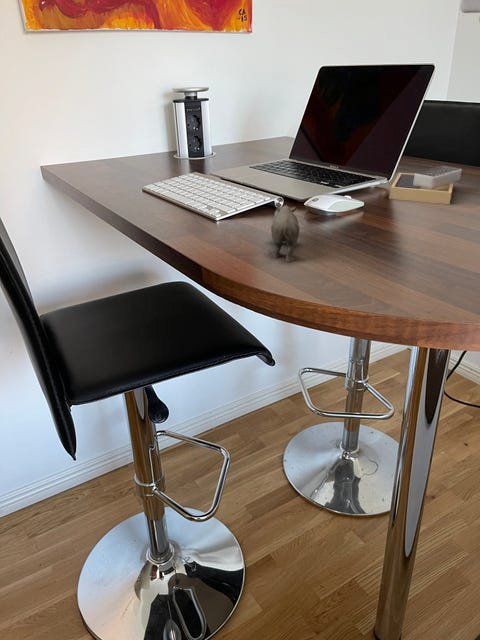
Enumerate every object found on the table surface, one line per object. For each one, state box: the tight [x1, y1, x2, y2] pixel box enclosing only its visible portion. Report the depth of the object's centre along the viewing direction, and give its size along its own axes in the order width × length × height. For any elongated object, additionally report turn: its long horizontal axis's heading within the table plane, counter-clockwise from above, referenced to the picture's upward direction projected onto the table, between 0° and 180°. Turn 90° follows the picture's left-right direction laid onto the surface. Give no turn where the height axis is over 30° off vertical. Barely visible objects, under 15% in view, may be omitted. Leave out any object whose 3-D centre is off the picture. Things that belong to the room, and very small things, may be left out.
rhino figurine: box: [270, 204, 300, 263], centre depth 75 cm, size 4×14×6 cm, turn 175°
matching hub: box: [396, 174, 420, 189], centre depth 103 cm, size 11×4×2 cm, turn 158°
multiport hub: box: [413, 165, 463, 189], centre depth 100 cm, size 4×11×2 cm, turn 132°
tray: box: [388, 172, 454, 205], centre depth 102 cm, size 14×11×2 cm
